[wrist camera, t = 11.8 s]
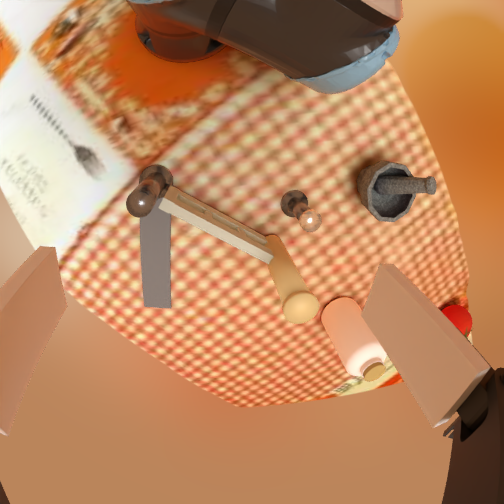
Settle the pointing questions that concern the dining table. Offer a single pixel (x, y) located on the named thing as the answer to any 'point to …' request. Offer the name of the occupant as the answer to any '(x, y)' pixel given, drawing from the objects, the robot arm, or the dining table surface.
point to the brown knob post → (149, 190)
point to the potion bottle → (353, 339)
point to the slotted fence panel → (249, 251)
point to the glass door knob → (300, 210)
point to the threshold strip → (156, 257)
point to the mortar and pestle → (391, 189)
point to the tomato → (459, 318)
